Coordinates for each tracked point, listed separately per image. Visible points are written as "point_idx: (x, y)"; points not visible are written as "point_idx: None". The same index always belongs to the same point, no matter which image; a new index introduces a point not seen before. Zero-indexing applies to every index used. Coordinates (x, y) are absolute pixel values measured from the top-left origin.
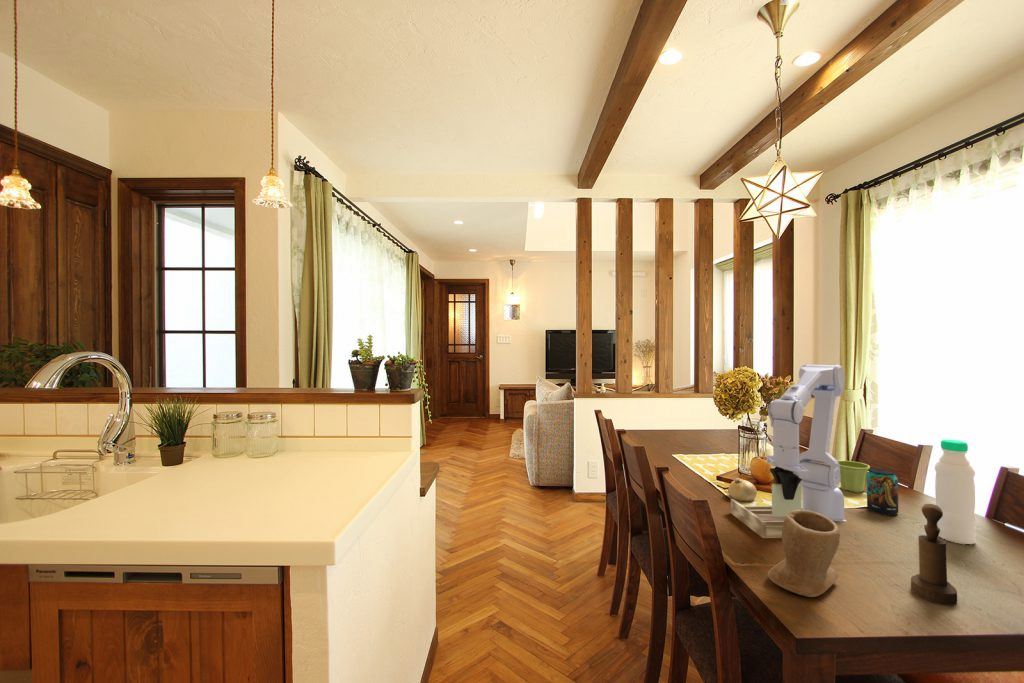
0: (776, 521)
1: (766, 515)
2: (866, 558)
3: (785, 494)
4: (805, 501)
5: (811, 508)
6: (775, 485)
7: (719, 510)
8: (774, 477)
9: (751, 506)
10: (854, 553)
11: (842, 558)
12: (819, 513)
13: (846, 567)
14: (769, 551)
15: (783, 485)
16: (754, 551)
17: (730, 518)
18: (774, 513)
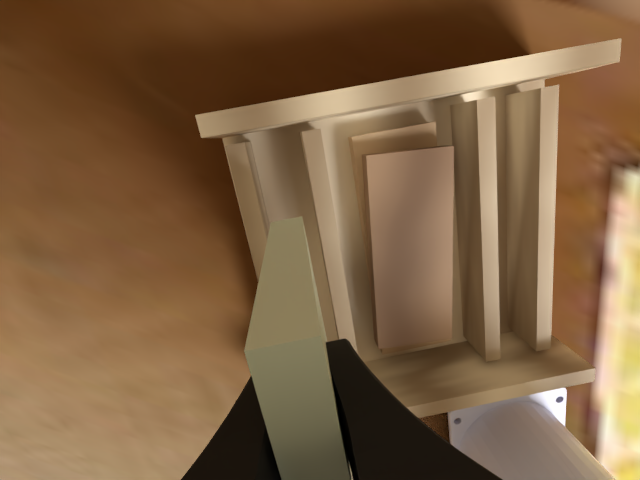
0: (327, 238)
1: (432, 222)
2: (151, 450)
3: (247, 387)
4: (549, 460)
5: (505, 452)
6: (248, 362)
7: (606, 15)
8: (445, 465)
9: (546, 178)
10: (183, 431)
11: (122, 379)
12: (477, 459)
13: (40, 362)
14: (88, 104)
15: (214, 463)
16: (58, 18)
17: (490, 43)
18: (271, 227)
